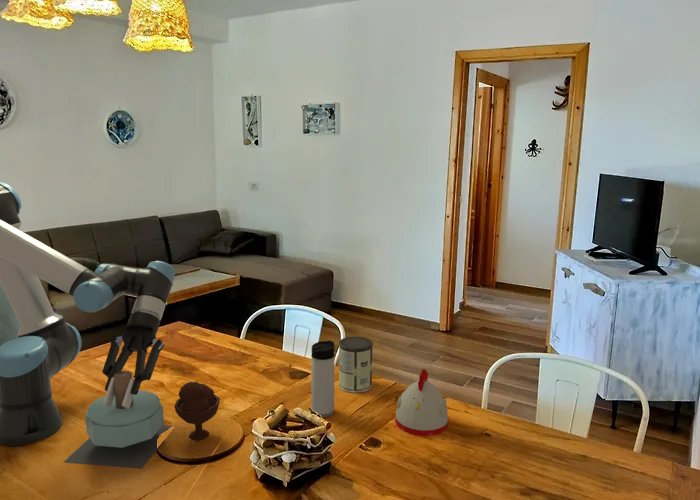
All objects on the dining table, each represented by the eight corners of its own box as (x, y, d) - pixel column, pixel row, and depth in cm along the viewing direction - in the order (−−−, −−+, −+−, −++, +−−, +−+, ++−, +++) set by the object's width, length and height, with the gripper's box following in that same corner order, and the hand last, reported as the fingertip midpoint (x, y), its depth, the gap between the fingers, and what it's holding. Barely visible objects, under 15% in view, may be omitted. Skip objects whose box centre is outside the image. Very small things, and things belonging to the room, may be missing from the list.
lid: (74, 443, 129) (70, 386, 126) (112, 410, 144) (108, 358, 142) (141, 449, 127) (138, 391, 124) (172, 415, 143) (170, 363, 140)
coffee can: (350, 375, 178) (350, 333, 175) (378, 383, 172) (379, 340, 169) (331, 387, 169) (332, 343, 166) (360, 396, 164) (361, 351, 161)
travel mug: (339, 411, 154) (340, 343, 150) (322, 420, 149) (322, 350, 145) (323, 404, 158) (324, 337, 154) (306, 412, 154) (306, 344, 150)
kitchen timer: (389, 430, 145) (390, 376, 142) (402, 406, 158) (404, 357, 155) (442, 440, 140) (445, 385, 137) (451, 415, 153) (454, 364, 150)
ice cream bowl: (210, 450, 134) (207, 393, 131) (168, 445, 136) (164, 388, 134) (228, 428, 144) (226, 374, 142) (188, 424, 147) (186, 370, 144)
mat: (63, 463, 128) (63, 462, 128) (107, 422, 147) (107, 421, 147) (141, 470, 126) (141, 468, 126) (176, 427, 145) (176, 426, 145)
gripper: (182, 325, 145) (156, 414, 133) (120, 321, 147) (88, 408, 134) (172, 312, 139) (144, 404, 126) (108, 308, 141) (74, 398, 128)
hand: (116, 406), depth 130 cm, fingers closed on lid, 4 cm apart
